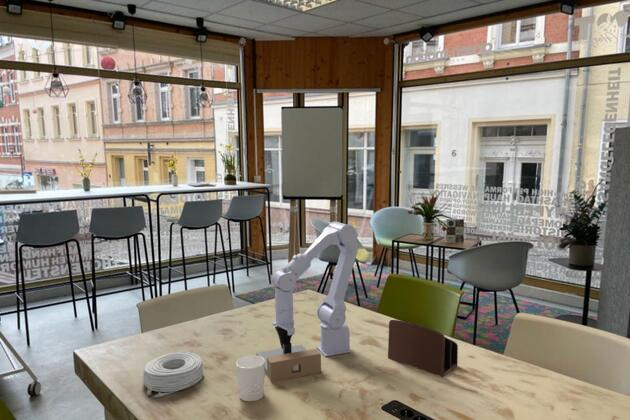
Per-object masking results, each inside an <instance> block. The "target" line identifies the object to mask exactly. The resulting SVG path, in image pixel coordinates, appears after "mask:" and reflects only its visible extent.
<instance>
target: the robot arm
mask: <svg viewBox="0 0 630 420" xmlns="http://www.w3.org/2000/svg"><path fill="white" fill-rule="evenodd" d="M358 236H359V233H358V232H357V230H356V229H355V227H354V226H353V225H352V224H346V223H342V222H340V221H336V220H334V221H331V222H330V223H329V224H328V226H326V227H324V229H323V231H322V232H321V234H320V235H319V236H318V237H317V238H316V239H315V241H313V243H312V244H310V246H309V247H308V248H307V249H306V250H305V251H304V252H303V253H297V254H294V255H293V256H292V259H291V260H290V261H289V262H288V263H287V264H286V265H284V266H283V267H282V268H281V269H280V270H277V271H276V272H275V273H274V274H273V277H272V278H271V284H272V285H273V286H274V295H275V296H274V304H275V306H274V307H275V309H274V310H275V319H274V321H272V322H271V324H272V326H273V327H274V326H275V327H274V329H275V331H276V333H277V336H278V339H279V343H280V347H281V348H282V349H283V343H285V342H291V340H292V337H293V335H294V336H295V334H296V333H295V331H296V329H295V328H294V327H295V319H294V292H293V291H294V288H295V287H296V285H297V282H298V279H299V278H300V277H301V276H302V275H304V273H305V272H306V271H308V269H310V267H311V265H312V260H314V259H315V258H316V257H318V255H320V254H321V253H322V252H323V251H325V249H326V248H328V247H329V246H334V245H336V246H337V247H338V249H339V251H340V253H339V257H338V259H337V260H338V261H337V263H336V267H335V271H334V274H333V277H332V281H331V283H330V284H331V285H330V288H329V291H328V294H327V296H325V297H323V298H322V300H321V301H322V302H321V304H319V306H318V308H317V311H316V315H317V318H318V319H319V320H320V345H317V346H316V349H317V350H318V351H319V352H320V353H321V355H323V356H324V357H331V356H335V355H341V354H342V355H343V354H346V353H347V354H348V353H351V349H350V348H351V345H350V341H351V340H350V338H351V335H350V329H349V326H348V324H347V323H346V319H347V317H346V310H347V307H346V303H345V296H346V293H347V289H348V286H349V283H350V279H351V275H352V271H353V269H354V265H355V261H356V258H357V254H358V248H359V247H358V240H357V239H358Z"/></svg>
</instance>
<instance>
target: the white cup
mask: <svg viewBox="0 0 630 420" xmlns="http://www.w3.org/2000/svg"><path fill="white" fill-rule="evenodd" d="M235 366H236V379H237V385H238V388H237V389H238V393H239V394H238V395H239V399H241V400H242V401H245V402H255V401H258V400H260V399H262V398H263V396H264V395H265V393H264V392H265V391H264V390H265V389H264V388H265V374H266V372H265V360H264V358H263V357H260V356H257V354H255V355H253V354H250V355H244V356H242V357H240V358H238V359H237V360H236V362H235Z"/></svg>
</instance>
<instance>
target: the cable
mask: <svg viewBox="0 0 630 420" xmlns="http://www.w3.org/2000/svg"><path fill="white" fill-rule="evenodd" d="M142 372H143V373H142V377H141V379H142V382H143V384H144V386H145V387H146V388H147V391H146V392H147V393H146V394H147V396H151V395H152V391H154V392H156V393H157V392H158V393H157V394H155V395H154V396H153V398H154V399H155V398H162V397H164V396H167V395H170V394H173V393H176V392H178V391H181V390H185V389H188V388H190V387H192V386H194V385H195V384H197V383H199V381H201V379H202V378H203V376H204V367H203V359H202V357H201V356H200V355H197V354H196V353H194V352H189V351H174V352H169V353H166V354H163V355H160V356H158V357H156V358H154V359H152V360H150V361H149V362H147V364H145V365H144V368H143V371H142Z"/></svg>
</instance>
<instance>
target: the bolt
mask: <svg viewBox="0 0 630 420" xmlns="http://www.w3.org/2000/svg"><path fill="white" fill-rule="evenodd" d="M288 353H292V343H291V341H290V342H285V343H283V354H288ZM297 370H299V365H294V366H292V371H297Z"/></svg>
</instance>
